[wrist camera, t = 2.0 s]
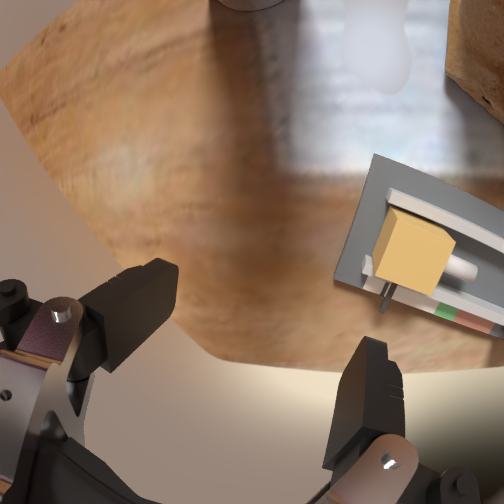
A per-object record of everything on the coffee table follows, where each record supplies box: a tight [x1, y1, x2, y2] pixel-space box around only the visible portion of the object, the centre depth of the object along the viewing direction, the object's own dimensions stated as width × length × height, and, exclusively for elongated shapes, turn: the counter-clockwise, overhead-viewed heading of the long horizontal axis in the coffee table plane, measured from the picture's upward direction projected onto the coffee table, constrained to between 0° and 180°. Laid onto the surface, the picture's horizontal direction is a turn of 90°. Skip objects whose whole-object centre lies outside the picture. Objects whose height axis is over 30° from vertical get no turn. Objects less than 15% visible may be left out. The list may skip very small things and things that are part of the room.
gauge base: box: [333, 154, 504, 339], centre depth 22 cm, size 24×12×4 cm, turn 76°
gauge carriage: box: [372, 205, 478, 313], centre depth 22 cm, size 9×9×5 cm
